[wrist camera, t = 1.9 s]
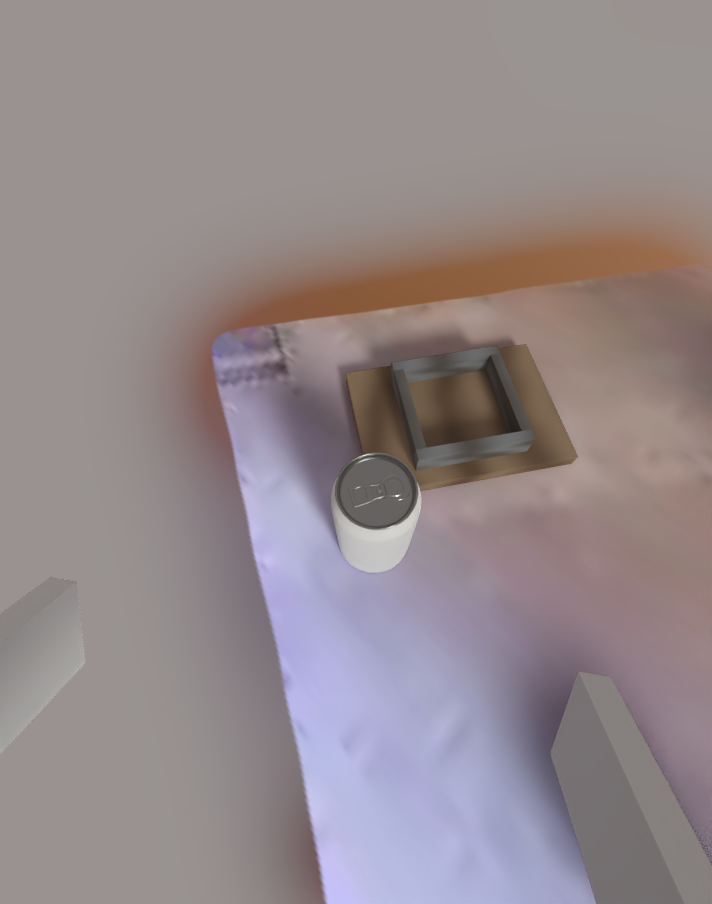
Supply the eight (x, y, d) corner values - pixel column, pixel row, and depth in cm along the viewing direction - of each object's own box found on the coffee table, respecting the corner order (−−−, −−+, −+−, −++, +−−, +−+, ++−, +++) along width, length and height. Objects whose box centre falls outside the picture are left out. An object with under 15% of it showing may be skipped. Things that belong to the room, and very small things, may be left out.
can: (418, 563, 39) (438, 522, 29) (347, 582, 39) (340, 547, 28) (397, 497, 42) (408, 437, 31) (331, 514, 42) (319, 458, 31)
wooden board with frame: (521, 352, 50) (533, 327, 46) (571, 463, 43) (589, 444, 40) (346, 381, 48) (344, 358, 45) (371, 499, 42) (372, 483, 39)
